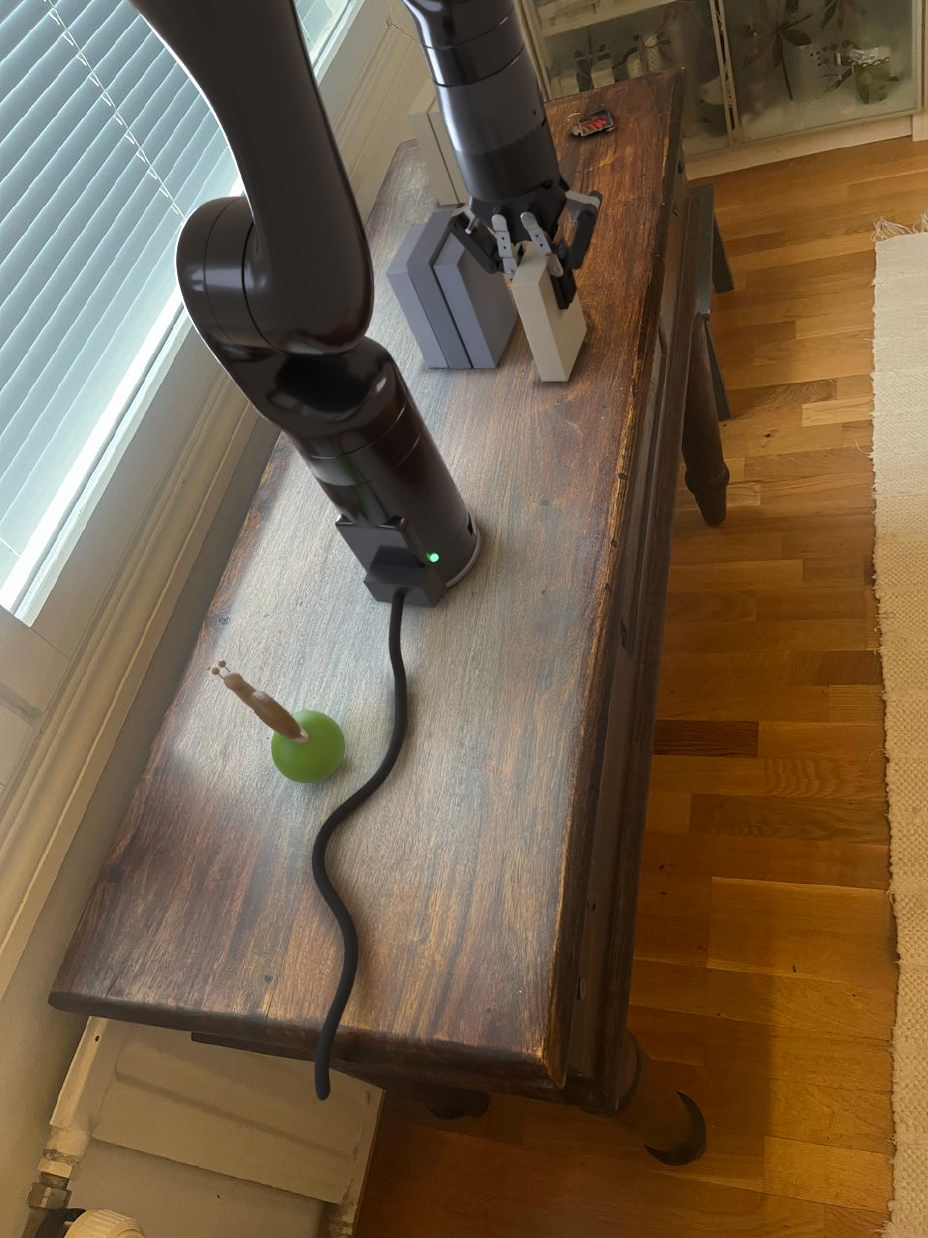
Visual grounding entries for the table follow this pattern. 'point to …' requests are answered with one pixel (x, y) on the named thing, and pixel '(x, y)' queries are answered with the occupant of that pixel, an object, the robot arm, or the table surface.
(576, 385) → the table surface
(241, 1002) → the table surface
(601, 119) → the black red flat piece
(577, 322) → the cream book
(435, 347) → the grey books
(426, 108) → the cream books
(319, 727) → the snail figurine
